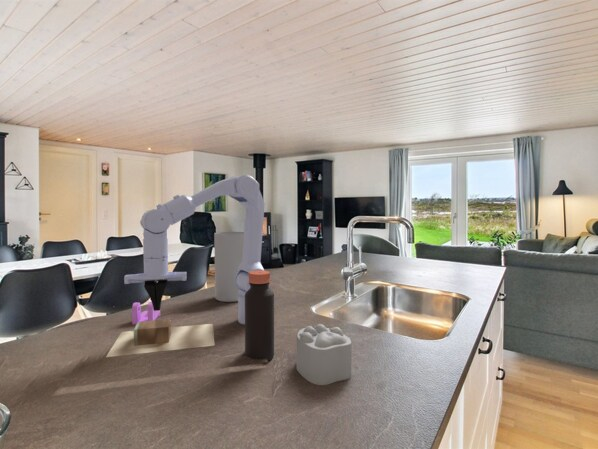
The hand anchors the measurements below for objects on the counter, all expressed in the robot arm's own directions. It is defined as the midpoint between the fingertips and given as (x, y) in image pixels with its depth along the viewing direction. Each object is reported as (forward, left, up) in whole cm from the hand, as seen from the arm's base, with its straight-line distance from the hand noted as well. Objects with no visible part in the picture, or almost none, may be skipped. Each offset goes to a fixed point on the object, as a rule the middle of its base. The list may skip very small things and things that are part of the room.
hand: (157, 309), depth 87 cm
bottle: (-24, +15, -9) cm, 30 cm away
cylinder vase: (-22, -38, -9) cm, 45 cm away
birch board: (-2, 0, -9) cm, 9 cm away
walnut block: (-3, 0, -6) cm, 6 cm away
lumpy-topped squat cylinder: (-36, +24, -9) cm, 44 cm away
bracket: (+5, -20, -9) cm, 22 cm away
